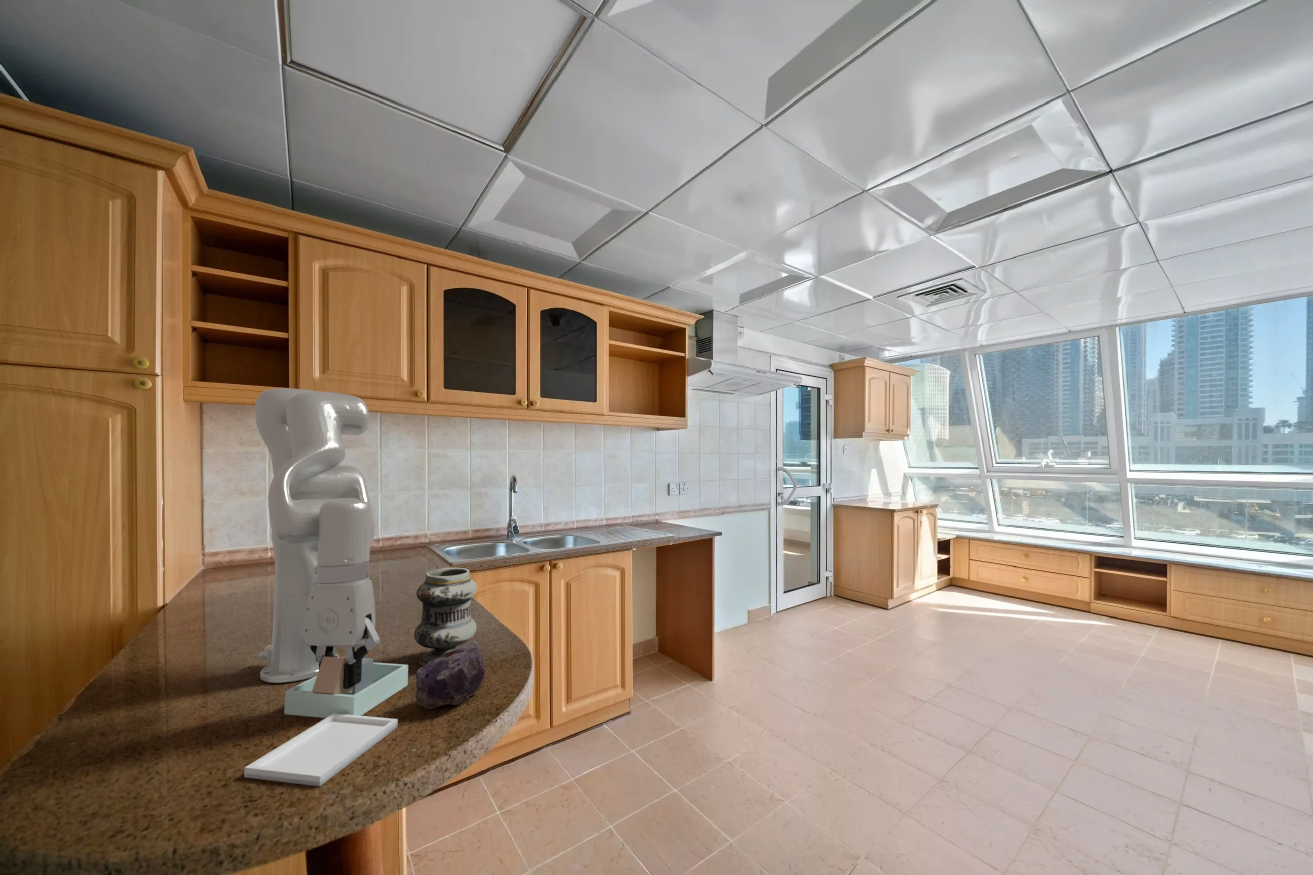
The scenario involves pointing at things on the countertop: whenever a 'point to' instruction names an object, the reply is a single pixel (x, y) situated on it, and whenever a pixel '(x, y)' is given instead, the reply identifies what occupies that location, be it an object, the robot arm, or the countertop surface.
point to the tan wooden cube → (331, 676)
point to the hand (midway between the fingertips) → (339, 683)
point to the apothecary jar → (445, 611)
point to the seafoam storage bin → (326, 704)
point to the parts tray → (321, 750)
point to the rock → (450, 677)
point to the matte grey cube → (364, 676)
